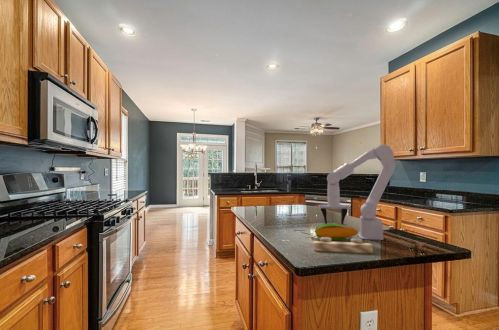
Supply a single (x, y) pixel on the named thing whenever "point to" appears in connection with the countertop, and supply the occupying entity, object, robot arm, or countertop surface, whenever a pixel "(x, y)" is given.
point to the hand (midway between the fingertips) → (334, 223)
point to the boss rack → (343, 246)
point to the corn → (335, 231)
